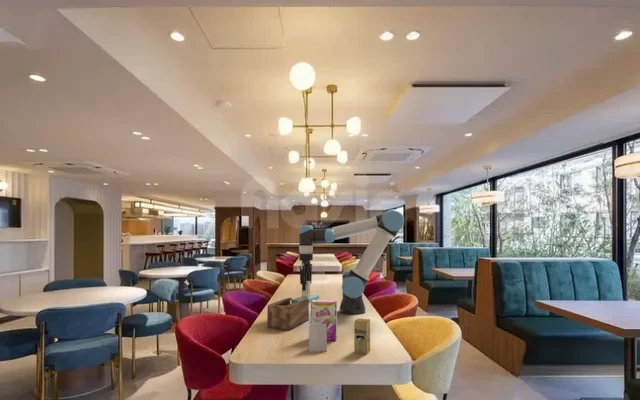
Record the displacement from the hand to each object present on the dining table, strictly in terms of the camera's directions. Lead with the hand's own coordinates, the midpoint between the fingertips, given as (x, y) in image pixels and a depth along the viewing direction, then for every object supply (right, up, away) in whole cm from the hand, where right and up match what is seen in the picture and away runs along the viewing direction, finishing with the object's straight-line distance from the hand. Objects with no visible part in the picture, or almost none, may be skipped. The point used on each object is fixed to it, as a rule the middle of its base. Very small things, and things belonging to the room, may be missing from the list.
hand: (306, 295), depth 219 cm
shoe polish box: (+24, -6, -66) cm, 71 cm away
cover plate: (0, -3, 0) cm, 3 cm away
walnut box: (-8, -9, -21) cm, 24 cm away
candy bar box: (+9, -7, -49) cm, 50 cm away
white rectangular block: (+7, -6, -64) cm, 64 cm away
